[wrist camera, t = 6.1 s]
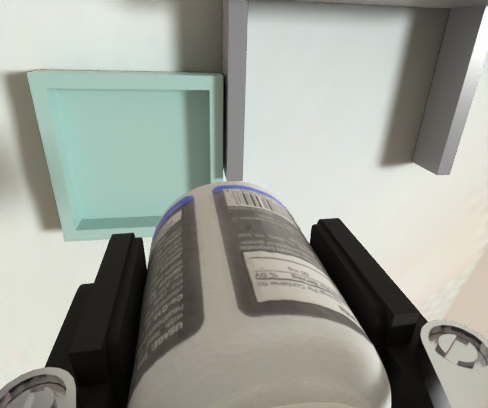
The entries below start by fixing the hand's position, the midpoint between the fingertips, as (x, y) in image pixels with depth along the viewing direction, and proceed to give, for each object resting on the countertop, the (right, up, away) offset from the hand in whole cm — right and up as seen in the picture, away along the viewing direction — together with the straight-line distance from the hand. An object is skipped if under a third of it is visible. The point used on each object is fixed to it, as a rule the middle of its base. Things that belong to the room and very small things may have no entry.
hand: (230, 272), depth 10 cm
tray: (-7, +5, +13) cm, 16 cm away
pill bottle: (0, +1, +2) cm, 2 cm away
